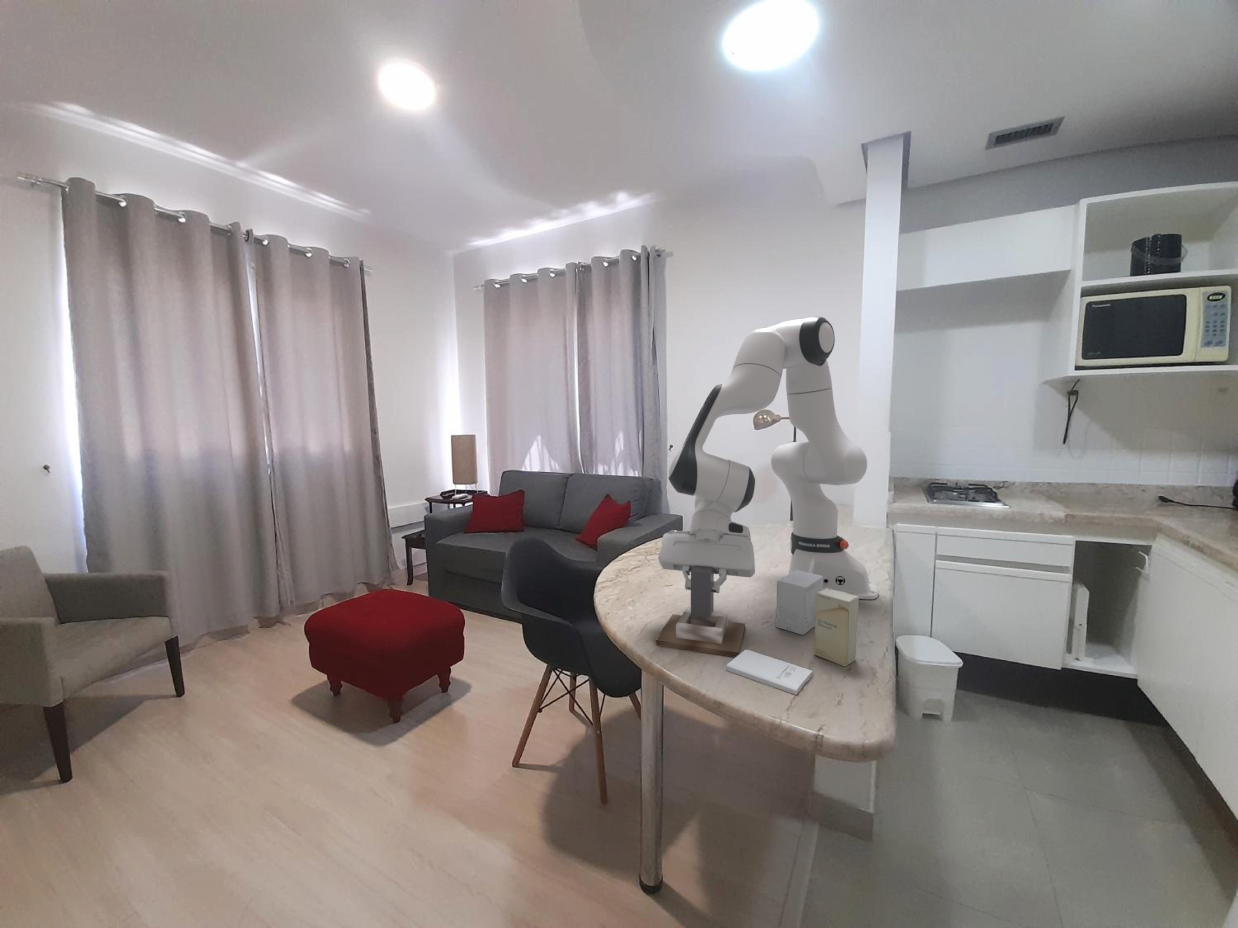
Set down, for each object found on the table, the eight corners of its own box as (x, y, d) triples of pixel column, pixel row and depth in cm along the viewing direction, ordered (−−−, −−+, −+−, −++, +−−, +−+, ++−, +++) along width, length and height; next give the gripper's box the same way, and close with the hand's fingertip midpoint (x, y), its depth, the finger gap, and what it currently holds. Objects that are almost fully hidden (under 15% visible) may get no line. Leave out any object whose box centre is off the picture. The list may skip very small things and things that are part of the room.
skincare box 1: (804, 636, 97) (805, 586, 97) (774, 627, 102) (775, 579, 101) (823, 620, 105) (824, 574, 104) (794, 613, 109) (795, 569, 109)
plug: (713, 609, 98) (713, 567, 98) (710, 617, 95) (710, 573, 94) (694, 607, 100) (694, 565, 99) (690, 614, 96) (690, 571, 95)
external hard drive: (746, 656, 90) (813, 678, 82) (726, 673, 84) (796, 698, 76) (746, 648, 90) (813, 669, 82) (726, 664, 84) (796, 688, 76)
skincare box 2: (813, 654, 89) (814, 592, 88) (824, 647, 92) (826, 586, 91) (846, 667, 84) (848, 601, 83) (857, 659, 87) (859, 595, 86)
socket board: (745, 627, 101) (745, 612, 101) (738, 657, 88) (738, 639, 88) (672, 618, 107) (672, 603, 107) (655, 644, 94) (655, 627, 94)
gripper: (661, 522, 106) (649, 577, 98) (756, 527, 99) (752, 588, 91) (666, 537, 111) (655, 591, 102) (757, 543, 104) (753, 602, 95)
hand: (701, 590), depth 96 cm, fingers closed on plug, 4 cm apart
